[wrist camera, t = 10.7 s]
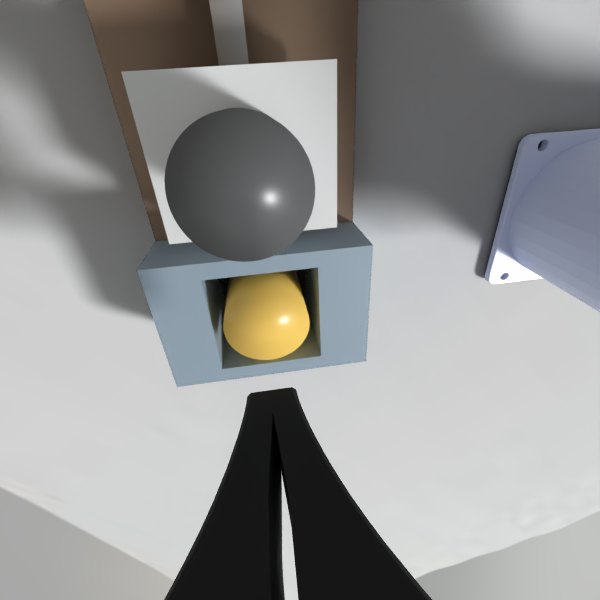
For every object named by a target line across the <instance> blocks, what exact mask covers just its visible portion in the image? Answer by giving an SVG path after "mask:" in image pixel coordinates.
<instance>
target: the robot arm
mask: <svg viewBox="0 0 600 600" xmlns="http://www.w3.org/2000/svg"><path fill="white" fill-rule="evenodd" d="M541 141H542V145H541V147H540V148H539V149H538V144H539V143H540V142H541ZM504 272H505V273H504ZM503 273H504V274H503ZM501 274H503V275H502V276H501ZM500 276H501V277H500ZM540 278H544V279H545V280H547V281H549V282H550V283H552V284H554V285H555V286H557V287H559V288H560V289H562V290H564V291H565V292H567V293H569V294H570V295H572V296H574V297H575V298H577V299H579V300H580V301H582V302H584V303H585V304H587V305H589V306H590V307H592V308H594V309H595V310H597V311H599V312H600V128H597V129H585V130H573V131H561V132H548V133H536V134H529V135H527V136H525V137H524V138H523V139H522V140H521V142H520V144H519V146H518V150H517V154H516V157H515V161H514V165H513V169H512V173H511V177H510V181H509V184H508V188H507V192H506V196H505V200H504V204H503V208H502V211H501V215H500V219H499V223H498V227H497V231H496V235H495V238H494V242H493V246H492V250H491V254H490V258H489V262H488V266H487V269H486V273H485V279H486V281H488V282H489V283H490V284H499V283H507V282H516V281H524V280H532V279H540ZM281 471H282V476H283V482H284V487H285V493H286V498H287V504H288V509H289V515H290V521H291V526H292V535H293V545H294V556H295V566H296V577H297V588H298V598H299V600H432V599H431V598H430V597H429V596H428V594H427V593H426V592H425V591H424V590H423V589H422V587H421V586H420V585H419V584H418V583H417V581H416V580H415V579H414V578H413V576H412V575H411V574H410V573H409V572H408V570H407V569H406V568H405V567H404V565H403V564H402V563H401V562H400V560H399V559H398V558H397V557H396V556H395V554H394V553H393V552H392V551H391V549H390V548H389V547H388V546H387V545H386V543H385V542H384V541H383V539H382V538H381V537H380V535H379V534H378V533H377V531H376V530H375V529H374V527H373V526H372V525H371V523H370V522H369V521H368V519H367V518H366V517H365V515H364V514H363V512H362V511H361V509H360V508H359V507H358V505H357V504H356V502H355V501H354V500H353V498H352V497H351V495H350V494H349V492H348V491H347V489H346V488H345V486H344V485H343V483H342V481H341V480H340V478H339V477H338V475H337V473H336V472H335V470H334V469H333V467H332V465H331V464H330V462H329V460H328V459H327V457H326V455H325V453H324V452H323V450H322V448H321V446H320V444H319V442H318V441H317V439H316V437H315V435H314V433H313V431H312V429H311V427H310V425H309V423H308V421H307V419H306V416H305V414H304V412H303V409H302V407H301V404H300V402H299V399H298V396H297V392H296V389H294V388H292V387H291V388H284V389H277V390H269V391H262V392H255V393H251V394H250V395H249V396H248V397H247V404H246V408H245V413H244V417H243V421H242V424H241V428H240V431H239V434H238V438H237V441H236V444H235V446H234V449H233V452H232V455H231V458H230V461H229V464H228V467H227V469H226V472H225V474H224V477H223V479H222V482H221V484H220V486H219V489H218V491H217V494H216V496H215V499H214V501H213V503H212V506H211V508H210V510H209V512H208V515H207V517H206V519H205V521H204V523H203V526H202V528H201V530H200V532H199V534H198V536H197V538H196V540H195V542H194V544H193V546H192V548H191V550H190V552H189V554H188V556H187V558H186V560H185V562H184V564H183V566H182V568H181V569H180V571H179V573H178V575H177V577H176V579H175V581H174V583H173V585H172V587H171V588H170V590H169V592H168V594H167V596H166V598H165V600H285V598H284V585H283V569H282V487H281Z"/></svg>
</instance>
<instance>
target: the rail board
mask: <svg viewBox="0 0 600 600" xmlns="http://www.w3.org/2000/svg"><path fill="white" fill-rule="evenodd" d="M84 4H85V7H86V10H87V14H88V17H89V20H90V24H91V27H92V30H93V34H94V37H95V40H96V44H97V47H98V50H99V54H100V57H101V60H102V64H103V67H104V70H105V74H106V77H107V80H108V84H109V87H110V90H111V94H112V97H113V100H114V104H115V107H116V110H117V114H118V117H119V120H120V124H121V127H122V130H123V134H124V137H125V140H126V144H127V147H128V150H129V154H130V157H131V160H132V164H133V167H134V170H135V174H136V177H137V180H138V184H139V187H140V190H141V194H142V197H143V200H144V204H145V207H146V210H147V214H148V217H149V220H150V224H151V227H152V230H153V234H154V237H155V240H156V241H166V240H168V238H167V234H166V231H165V227H164V224H163V220H162V216H161V213H160V209H159V206H158V202H157V198H156V195H155V191H154V188H153V184H152V181H151V177H150V173H149V170H148V166H147V163H146V159H145V156H144V152H143V148H142V145H141V141H140V138H139V134H138V130H137V127H136V123H135V120H134V116H133V113H132V109H131V105H130V102H129V98H128V95H127V91H126V87H125V84H124V80H123V77H122V73H121V72H123V71H141V70H158V69H175V68H192V67H209V66H226V65H243V64H260V63H277V62H294V61H311V60H328V59H337V223H345V222H352V221H353V180H354V139H355V98H356V57H357V16H358V0H84Z"/></svg>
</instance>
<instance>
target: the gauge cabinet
mask: <svg viewBox="0 0 600 600" xmlns="http://www.w3.org/2000/svg"><path fill="white" fill-rule="evenodd" d="M372 251H373V245H372V244H371V243H370V241H369V240H368V239H367V238H366V237H365V236H364V234H363V233H362V232H361V231H360V230H359V229H358V228H357V226H356V225H355V224H354V223H353V222H345V223H337V227H335V228H325V229H315V230H305V231H303V232H302V233H301V234H300V236H299V237H298V238H297V239H296V240H295V241H294V242H293V243H292V244H291V245H290V246H289V247H287V248H286V249H285V250H283V251H281V252H280V253H278V254H276V255H274V256H272V257H269V258H266V259H263V260H258V261H251V262H239V261H231V260H226V259H223V258H219V257H217V256H214V255H212V254H210V253H208V252H206V251H205V250H203V249H201V248H200V247H198V246H197V245H196V244H195V243H193V242H187V243H177V244H169V241H168V240H166V241H156V242H155V244H154V245H153V247H152V248H151V250H150V251H149V253H148V254H147V256H146V257H145V259H144V260H143V262H142V263H141V265H140V266H139V268H138V269H137V270H136V271H137V273H138V276H139V279H140V282H141V285H142V288H143V291H144V293H145V296H146V299H147V302H148V305H149V308H150V311H151V314H152V316H153V319H154V322H155V325H156V328H157V331H158V334H159V336H160V339H161V342H162V345H163V348H164V351H165V354H166V357H167V359H168V362H169V365H170V368H171V371H172V374H173V377H174V379H175V382H176V385H177V387H180V386H187V385H195V384H202V383H209V382H217V381H224V380H231V379H239V378H246V377H253V376H261V375H268V374H275V373H283V372H290V371H297V370H305V369H312V368H319V367H327V366H334V365H341V364H349V363H356V362H363V361H366V352H367V335H368V318H369V302H370V285H371V268H372ZM300 269H305V283H306V301H307V306H306V308H307V312H308V315H309V320H310V326H309V331H308V334H307V336H306V338H305V340H304V341H303V343H302V344H301V345H300V346H299V347H298V348H297V349H296V350H295V351H293V352H292V353H290V354H288V355H286V356H283V357H281V358H277V359H272V360H258V359H252V358H249V357H246V356H244V355H242V354H240V353H239V352H237V351H236V350H235V349H233V348H232V347H231V345H230V344H229V343H228V341H227V339H226V337H225V334H224V330H223V322H224V313H225V300H224V295H223V291H222V286H221V281H220V278H228V277H237V276H246V275H255V274H264V273H273V272H282V271H291V270H300Z"/></svg>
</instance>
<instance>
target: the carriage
mask: <svg viewBox="0 0 600 600" xmlns="http://www.w3.org/2000/svg"><path fill="white" fill-rule="evenodd" d="M121 73H122V77H123V80H124V84H125V87H126V91H127V95H128V98H129V102H130V105H131V109H132V113H133V116H134V120H135V123H136V127H137V130H138V134H139V138H140V141H141V145H142V148H143V152H144V156H145V159H146V163H147V166H148V170H149V173H150V177H151V181H152V184H153V188H154V191H155V195H156V198H157V202H158V206H159V209H160V213H161V216H162V220H163V224H164V227H165V231H166V234H167V238H168V241H169V244H177V243H187V242H193V243H195V244H196V245H197V246H198V247H200V248H201V249H203V250H205V251H206V252H208V253H210V254H212V255H214V256H217V257H219V258H223V259H226V260H231V261H239V262H251V261H258V260H263V259H266V258H269V257H272V256H274V255H276V254H278V253H280V252H281V251H283V250H285V249H286V248H287V247H289V246H290V245H291V244H292V243H293V242H294V241H295V240H296V239H297V238H298V237H299V236H300V234H301V233H302V232H303V231H305V230H315V229H325V228H335V227H337V59H328V60H311V61H294V62H277V63H260V64H243V65H226V66H209V67H192V68H175V69H158V70H141V71H123V72H121Z"/></svg>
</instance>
